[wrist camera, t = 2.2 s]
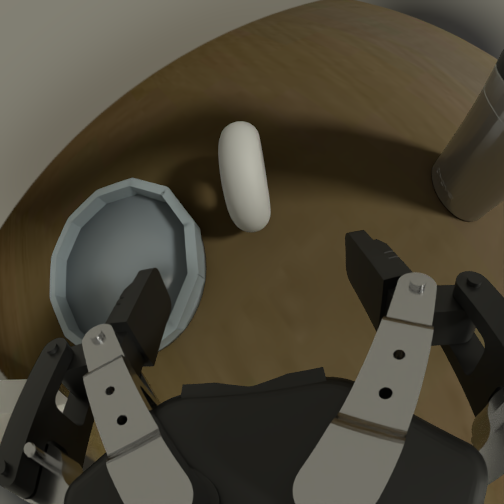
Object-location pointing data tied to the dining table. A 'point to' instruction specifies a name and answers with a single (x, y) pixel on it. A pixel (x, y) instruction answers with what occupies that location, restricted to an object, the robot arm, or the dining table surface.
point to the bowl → (126, 256)
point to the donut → (244, 176)
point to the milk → (6, 395)
